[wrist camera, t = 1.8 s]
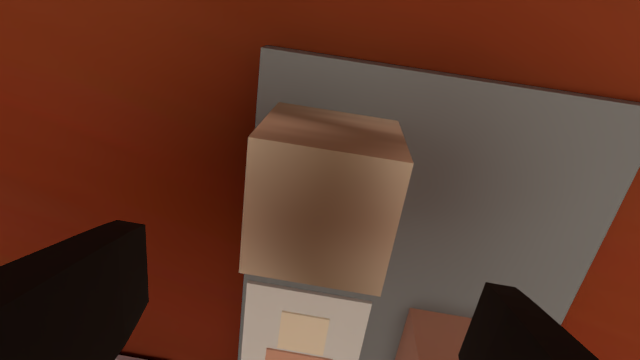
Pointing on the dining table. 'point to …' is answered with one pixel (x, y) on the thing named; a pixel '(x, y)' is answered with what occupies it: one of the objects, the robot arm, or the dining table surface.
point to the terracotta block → (432, 336)
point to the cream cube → (323, 198)
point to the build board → (473, 182)
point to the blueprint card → (301, 324)
